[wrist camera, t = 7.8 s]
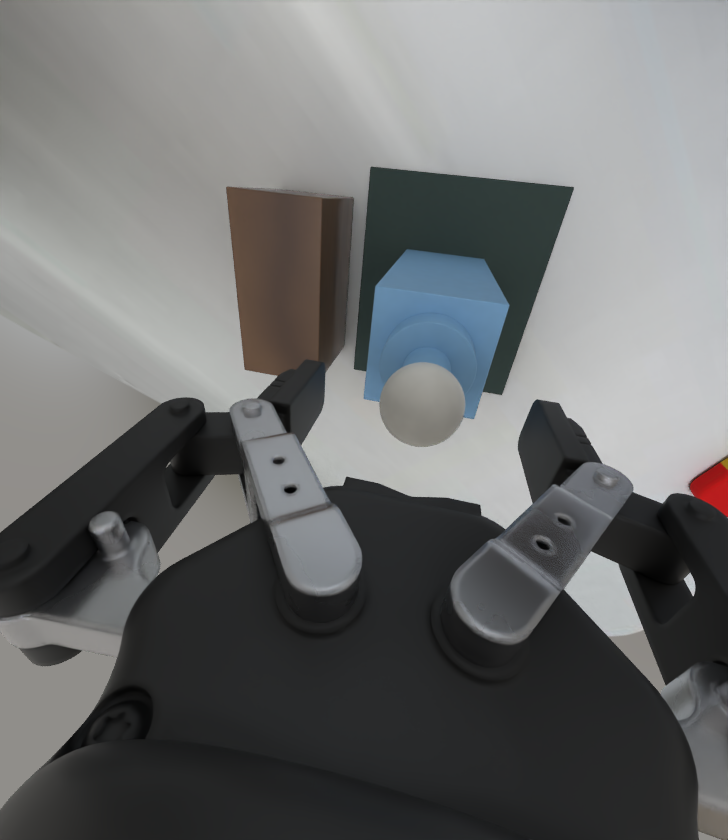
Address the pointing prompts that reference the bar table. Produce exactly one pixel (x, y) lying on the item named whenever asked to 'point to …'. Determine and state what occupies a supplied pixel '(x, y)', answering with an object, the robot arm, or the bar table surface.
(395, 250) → the mat
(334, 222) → the block
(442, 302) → the bottle
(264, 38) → the bar table surface
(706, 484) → the popsicle
